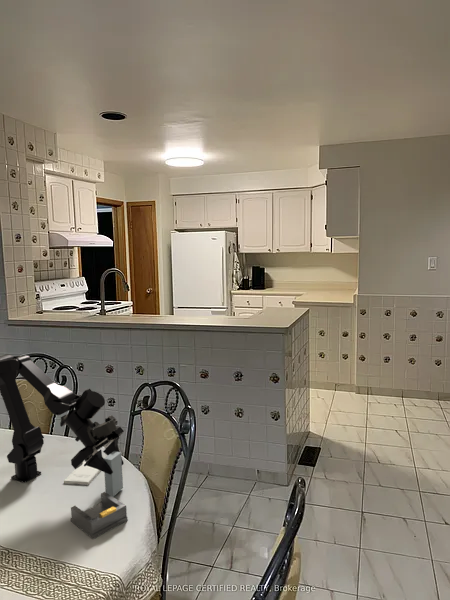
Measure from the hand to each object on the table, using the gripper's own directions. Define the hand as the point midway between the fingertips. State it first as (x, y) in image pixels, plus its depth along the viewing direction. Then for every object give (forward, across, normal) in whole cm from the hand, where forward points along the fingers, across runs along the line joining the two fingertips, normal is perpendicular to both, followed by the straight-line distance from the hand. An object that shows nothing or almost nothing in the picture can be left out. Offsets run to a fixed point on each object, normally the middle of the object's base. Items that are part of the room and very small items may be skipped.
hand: (117, 469), depth 127 cm
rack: (+7, -13, +4) cm, 15 cm away
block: (+4, 0, +6) cm, 7 cm away
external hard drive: (-6, +7, +18) cm, 20 cm away
